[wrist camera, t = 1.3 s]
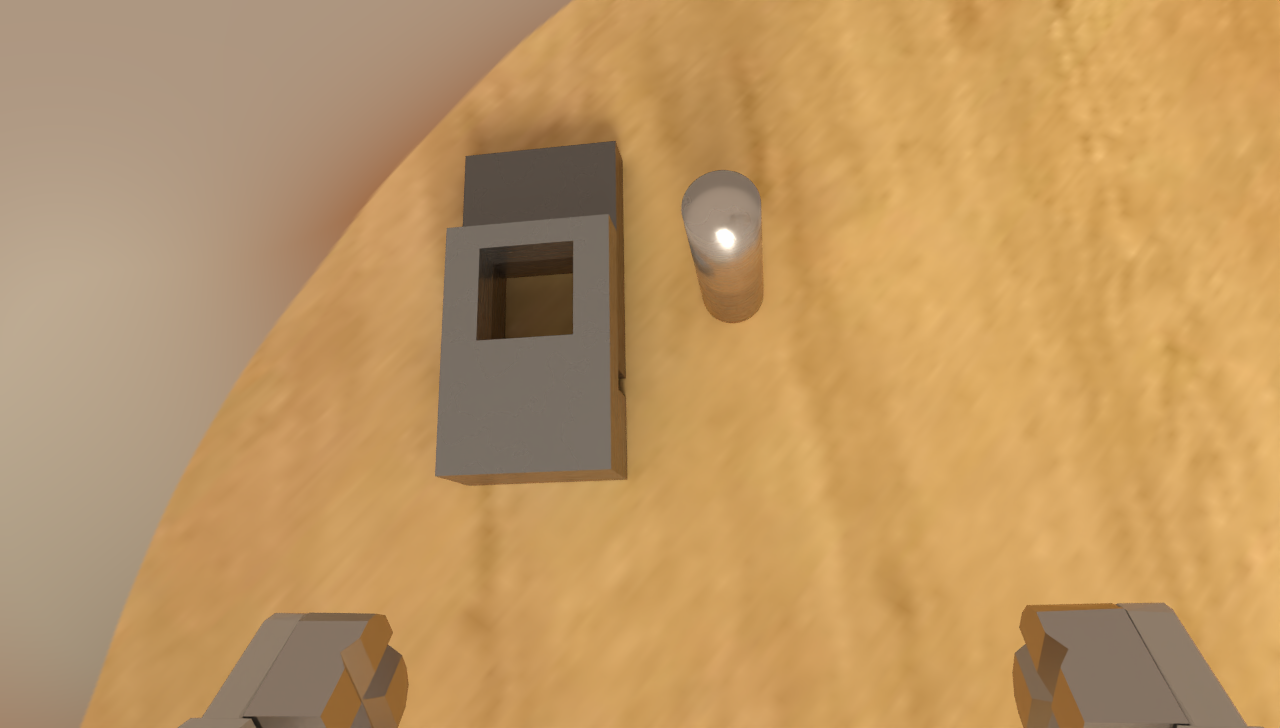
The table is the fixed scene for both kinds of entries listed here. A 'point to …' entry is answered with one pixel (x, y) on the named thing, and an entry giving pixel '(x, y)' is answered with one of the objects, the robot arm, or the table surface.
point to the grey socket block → (546, 365)
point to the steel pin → (726, 243)
